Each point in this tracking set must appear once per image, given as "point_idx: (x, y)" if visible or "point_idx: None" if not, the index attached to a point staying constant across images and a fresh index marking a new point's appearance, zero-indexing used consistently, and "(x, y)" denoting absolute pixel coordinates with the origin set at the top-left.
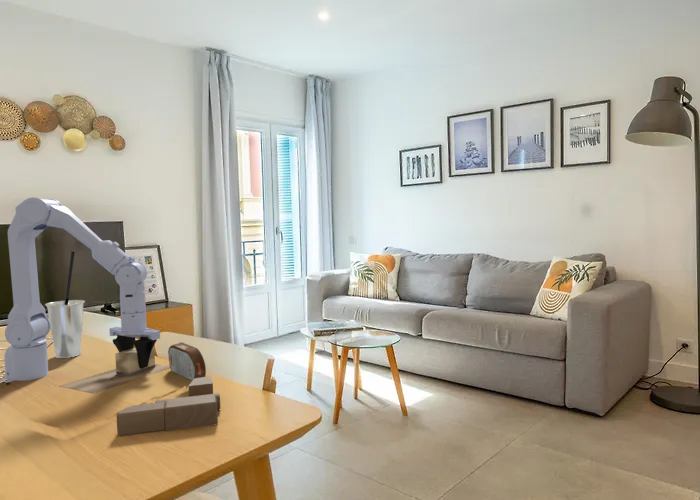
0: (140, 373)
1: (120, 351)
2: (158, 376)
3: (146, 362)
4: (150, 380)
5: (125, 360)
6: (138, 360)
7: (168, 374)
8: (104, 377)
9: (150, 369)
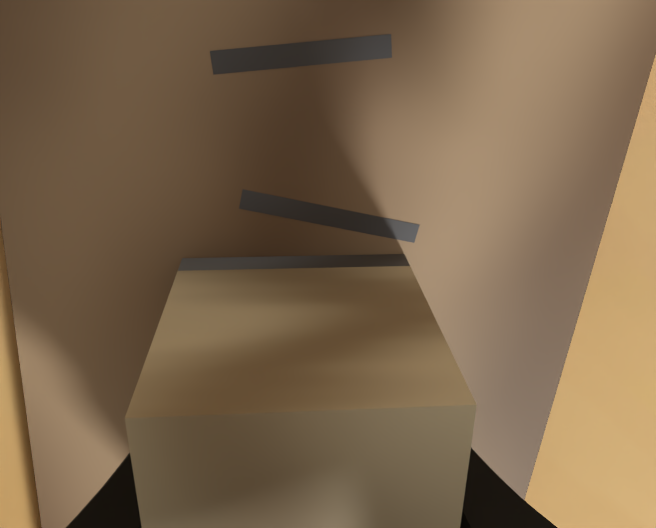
0: None
1: (508, 523)
2: None
3: None
4: (11, 322)
5: (235, 353)
6: None
7: (29, 499)
8: (437, 102)
9: None
